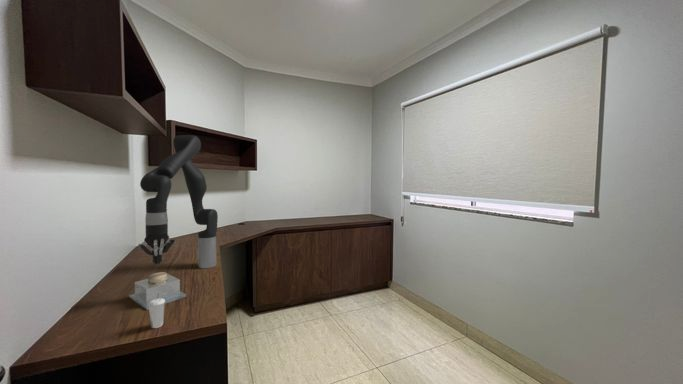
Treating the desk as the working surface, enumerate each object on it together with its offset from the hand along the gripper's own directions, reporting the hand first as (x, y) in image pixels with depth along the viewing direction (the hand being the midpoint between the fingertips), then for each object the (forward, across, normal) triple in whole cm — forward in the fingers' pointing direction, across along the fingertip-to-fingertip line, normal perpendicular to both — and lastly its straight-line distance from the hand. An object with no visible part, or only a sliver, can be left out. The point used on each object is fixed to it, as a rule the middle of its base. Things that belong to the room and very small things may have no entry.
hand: (157, 263), depth 107 cm
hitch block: (+14, 0, 0) cm, 14 cm away
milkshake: (+15, +9, +24) cm, 29 cm away
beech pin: (+13, 0, 0) cm, 13 cm away
